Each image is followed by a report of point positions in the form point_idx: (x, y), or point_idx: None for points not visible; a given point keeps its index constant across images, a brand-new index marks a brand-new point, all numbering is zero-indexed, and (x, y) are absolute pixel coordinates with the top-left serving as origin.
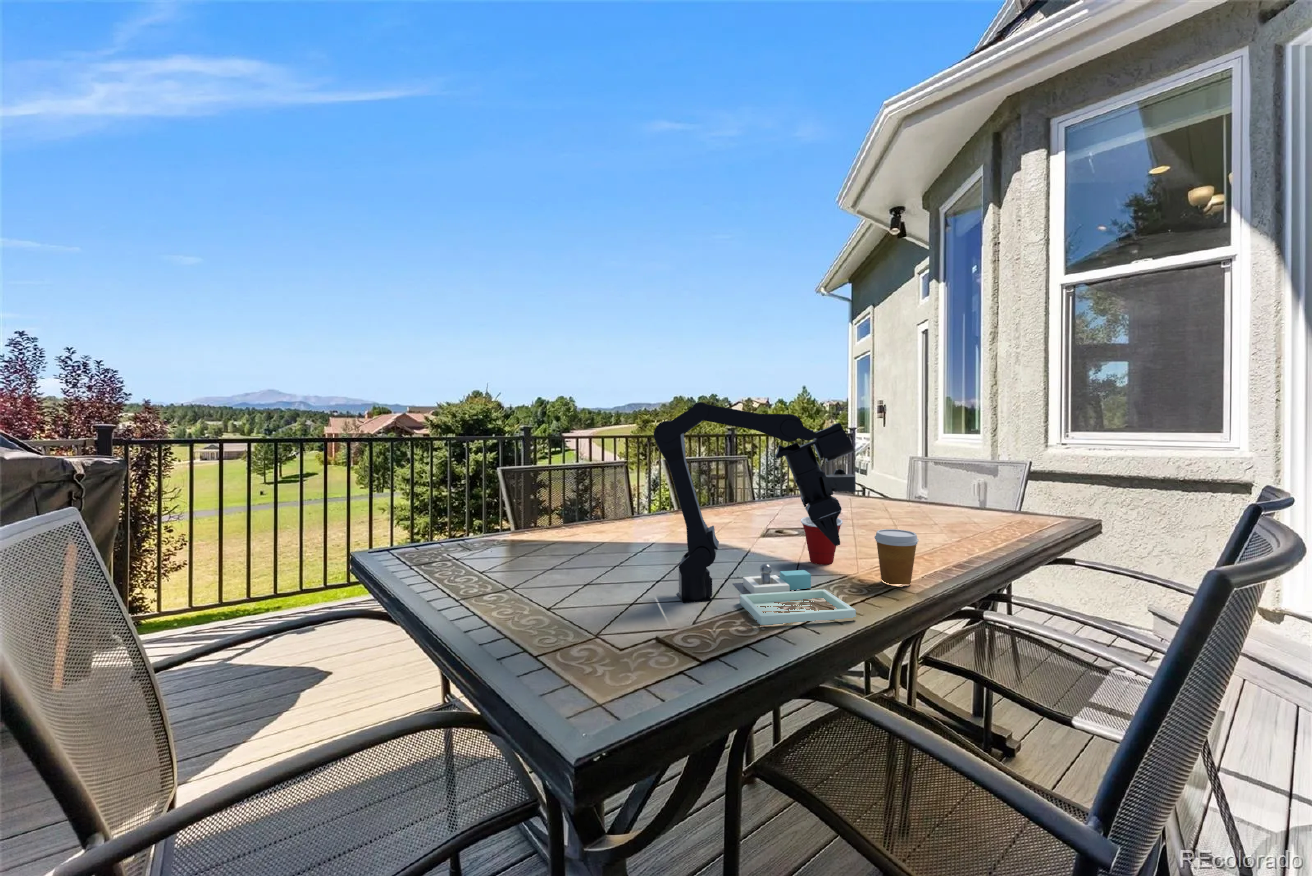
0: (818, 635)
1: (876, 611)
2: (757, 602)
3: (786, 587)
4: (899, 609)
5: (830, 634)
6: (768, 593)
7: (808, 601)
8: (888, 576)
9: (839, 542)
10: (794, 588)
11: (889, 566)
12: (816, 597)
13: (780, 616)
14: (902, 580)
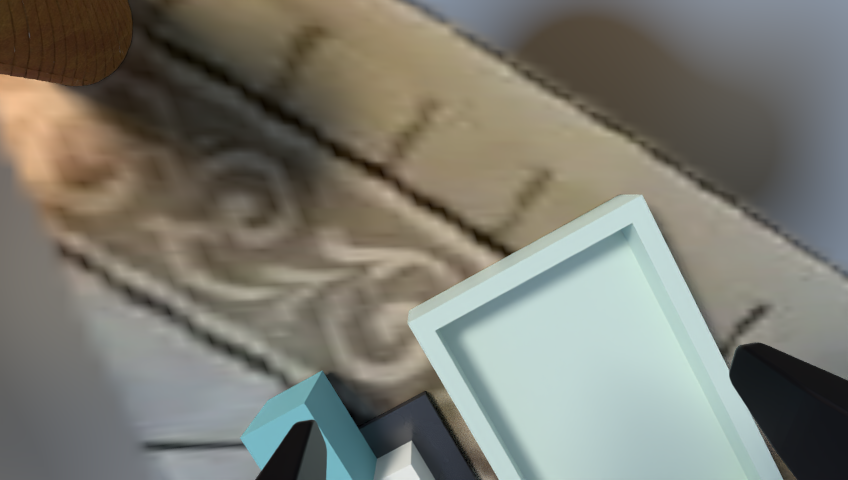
0: (780, 307)
1: (488, 120)
2: None
3: (416, 469)
4: (436, 31)
5: (762, 272)
6: None
7: (487, 367)
8: (93, 41)
9: (778, 356)
10: (356, 433)
11: (55, 13)
12: (446, 343)
13: (765, 447)
14: None
